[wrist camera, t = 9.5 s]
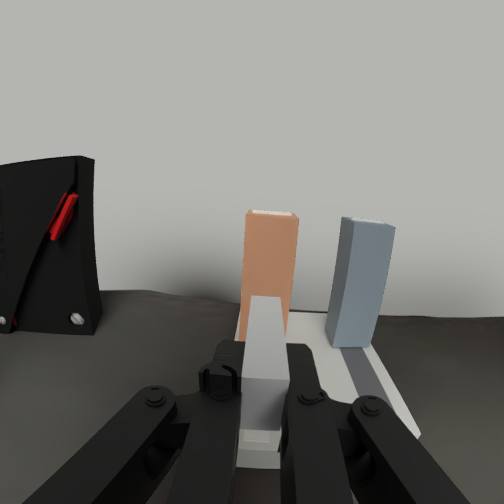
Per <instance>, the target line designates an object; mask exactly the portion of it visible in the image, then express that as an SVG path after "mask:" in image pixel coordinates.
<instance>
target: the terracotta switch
mask: <svg viewBox="0 0 504 504" xmlns="http://www.w3.org/2000/svg"><path fill="white" fill-rule="evenodd" d="M298 225H299V218H298V217H297V216H296V215H295V214H293V213H288V212H275V211H262V210H249V211H248V213H247V214H246V223H245V238H244V256H243V272H242V291H241V309H240V327H239V341H245V342H246V336H247V328H248V320H249V312H250V303H251V295H252V296H268V297H280V299H281V307H282V316H283V324H284V332H285V336H286V329H287V322H288V314H289V306H290V298H291V290H292V282H293V273H294V264H295V254H296V245H297V235H298Z"/></svg>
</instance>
